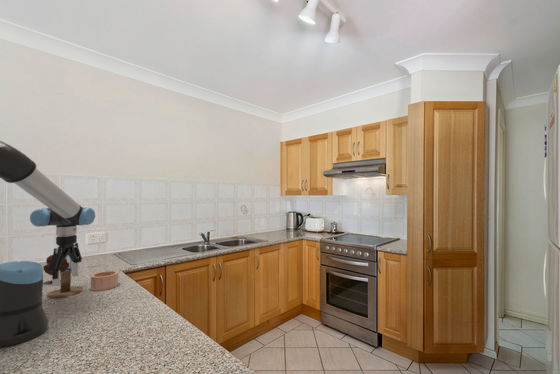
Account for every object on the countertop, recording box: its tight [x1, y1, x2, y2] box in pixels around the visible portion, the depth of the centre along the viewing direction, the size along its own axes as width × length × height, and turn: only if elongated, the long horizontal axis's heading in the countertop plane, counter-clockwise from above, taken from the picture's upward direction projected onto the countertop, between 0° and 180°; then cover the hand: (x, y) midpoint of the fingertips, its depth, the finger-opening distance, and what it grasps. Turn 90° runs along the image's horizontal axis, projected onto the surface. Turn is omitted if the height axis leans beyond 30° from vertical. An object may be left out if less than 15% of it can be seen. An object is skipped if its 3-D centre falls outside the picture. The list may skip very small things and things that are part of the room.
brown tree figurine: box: [42, 254, 69, 284], centre depth 140 cm, size 11×11×15 cm
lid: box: [46, 271, 84, 300], centre depth 122 cm, size 13×13×10 cm
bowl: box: [90, 270, 119, 292], centre depth 130 cm, size 11×11×7 cm
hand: (66, 280), depth 123 cm, fingers open, 13 cm apart
